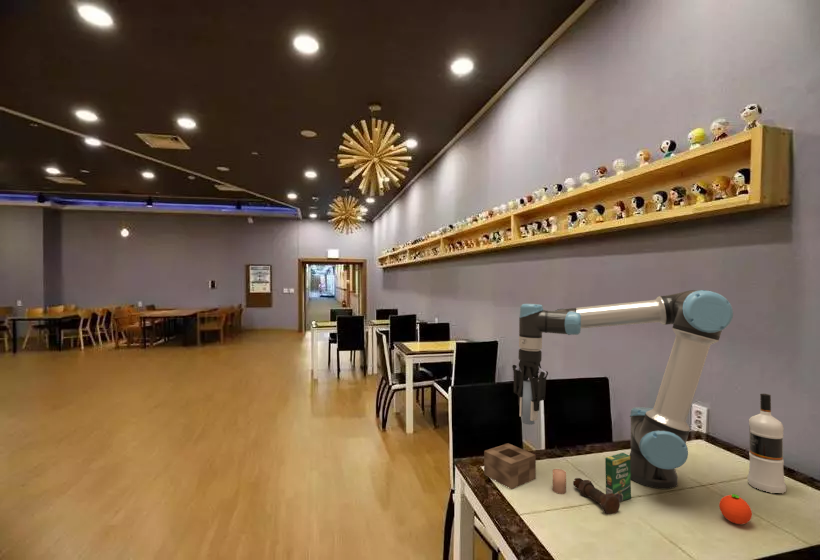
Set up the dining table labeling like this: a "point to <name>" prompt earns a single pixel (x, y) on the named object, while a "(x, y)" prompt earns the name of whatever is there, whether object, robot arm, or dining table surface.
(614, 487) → the coffee box
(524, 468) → the hole block
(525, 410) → the long dowel
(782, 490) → the vodka
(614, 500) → the bolt
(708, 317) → the robot arm
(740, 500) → the clementine
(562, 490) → the short dowel
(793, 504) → the dining table surface
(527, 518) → the dining table surface
